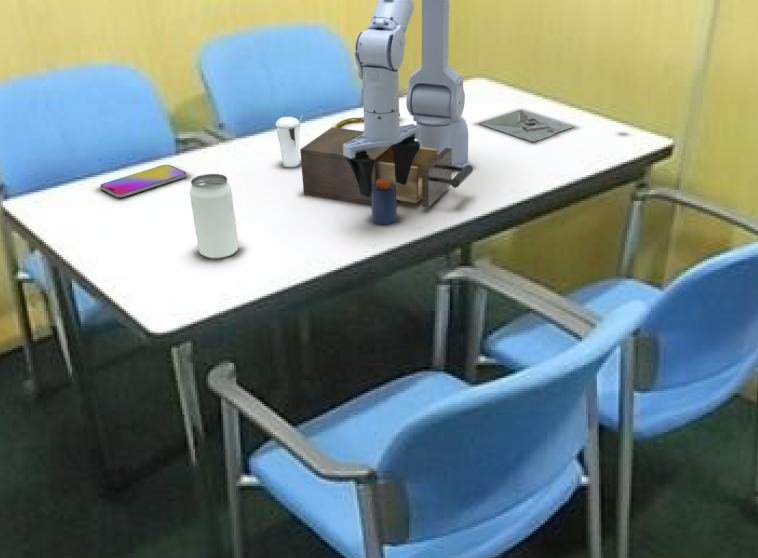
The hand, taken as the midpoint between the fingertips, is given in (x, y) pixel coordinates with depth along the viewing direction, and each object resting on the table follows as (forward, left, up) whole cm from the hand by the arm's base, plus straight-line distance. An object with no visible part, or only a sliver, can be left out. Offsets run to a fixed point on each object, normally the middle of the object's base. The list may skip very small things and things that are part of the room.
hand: (383, 188), depth 160 cm
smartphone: (+35, -34, -6) cm, 50 cm away
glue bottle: (0, 0, -6) cm, 6 cm away
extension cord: (-14, -46, -6) cm, 48 cm away
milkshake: (+7, -32, -6) cm, 33 cm away
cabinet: (0, -16, -6) cm, 16 cm away
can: (+29, 0, -6) cm, 30 cm away
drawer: (-9, -7, -5) cm, 12 cm away
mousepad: (-48, -29, -6) cm, 56 cm away
